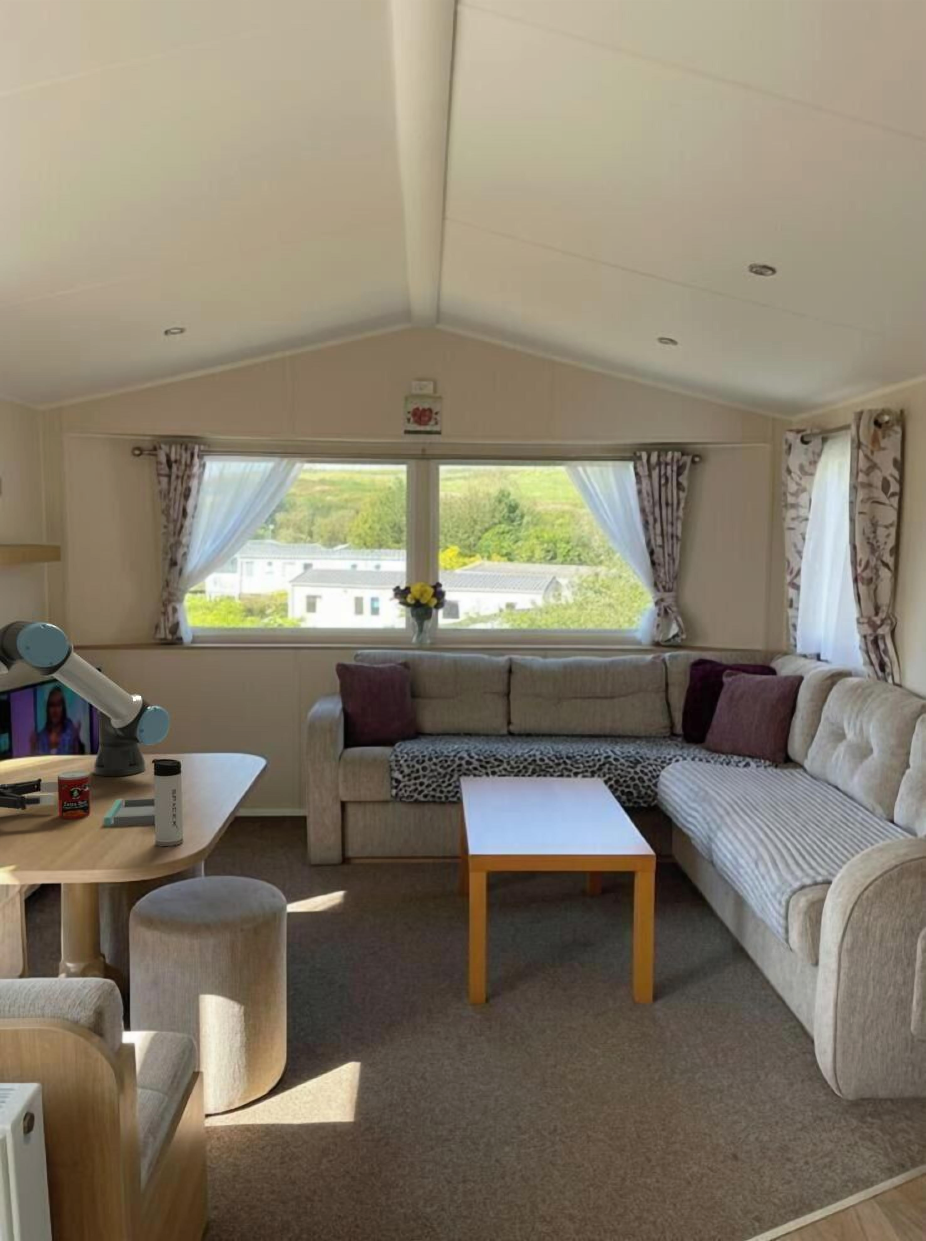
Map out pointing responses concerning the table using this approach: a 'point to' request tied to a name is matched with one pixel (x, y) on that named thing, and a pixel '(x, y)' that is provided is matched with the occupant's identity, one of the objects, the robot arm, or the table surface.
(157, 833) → the travel mug
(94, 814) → the table surface
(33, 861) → the table surface
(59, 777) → the canned food
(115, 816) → the tray with upright backboard
